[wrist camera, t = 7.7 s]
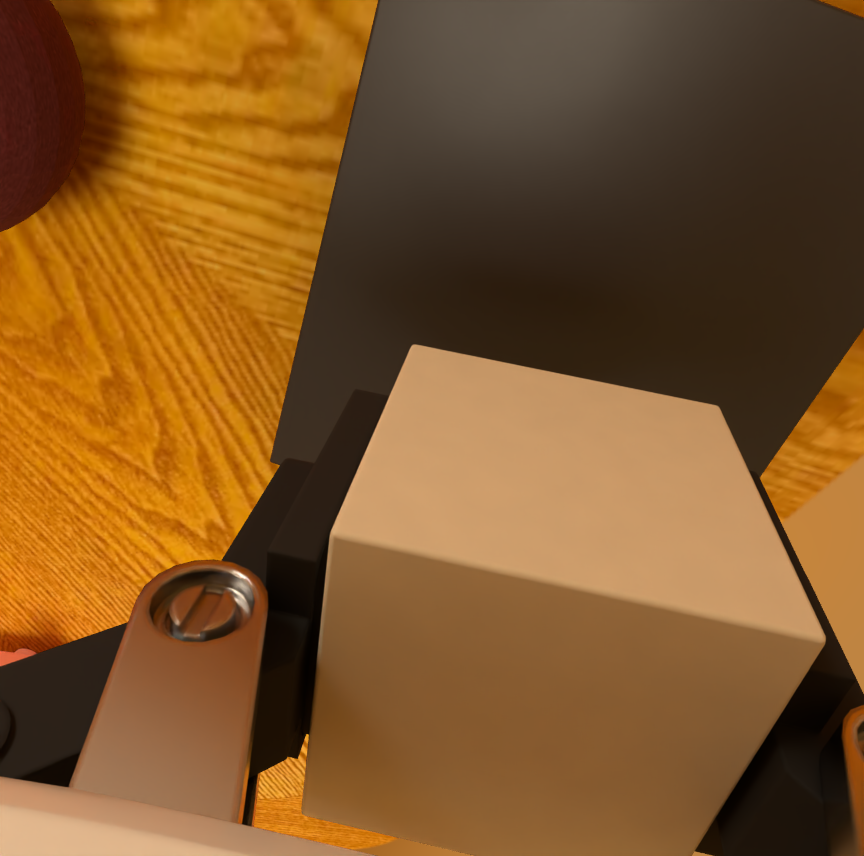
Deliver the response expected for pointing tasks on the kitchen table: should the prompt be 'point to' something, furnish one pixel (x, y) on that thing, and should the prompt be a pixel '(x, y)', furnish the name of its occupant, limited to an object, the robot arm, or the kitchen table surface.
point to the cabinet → (597, 205)
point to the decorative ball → (36, 107)
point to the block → (548, 619)
